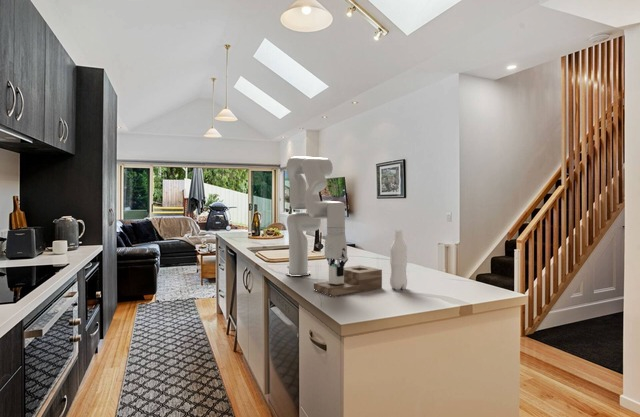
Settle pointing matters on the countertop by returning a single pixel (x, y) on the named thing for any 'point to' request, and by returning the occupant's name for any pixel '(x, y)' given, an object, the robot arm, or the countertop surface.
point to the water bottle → (398, 262)
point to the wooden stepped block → (353, 281)
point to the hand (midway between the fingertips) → (336, 274)
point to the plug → (335, 275)
